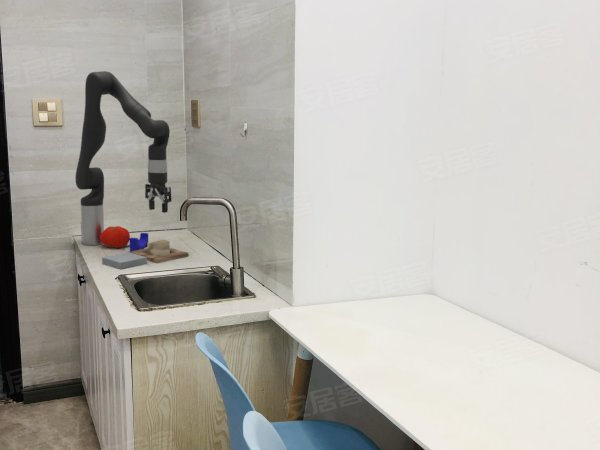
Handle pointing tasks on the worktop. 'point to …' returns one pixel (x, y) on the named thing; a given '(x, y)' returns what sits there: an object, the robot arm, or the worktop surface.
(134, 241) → the cable clip
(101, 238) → the tomato
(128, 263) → the plinth
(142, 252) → the board
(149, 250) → the ash block
